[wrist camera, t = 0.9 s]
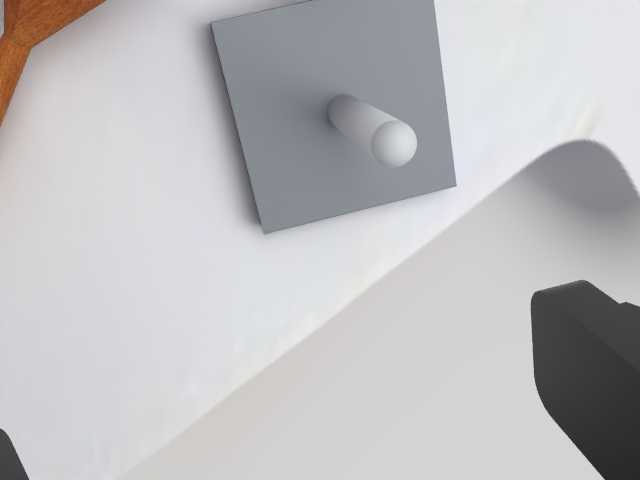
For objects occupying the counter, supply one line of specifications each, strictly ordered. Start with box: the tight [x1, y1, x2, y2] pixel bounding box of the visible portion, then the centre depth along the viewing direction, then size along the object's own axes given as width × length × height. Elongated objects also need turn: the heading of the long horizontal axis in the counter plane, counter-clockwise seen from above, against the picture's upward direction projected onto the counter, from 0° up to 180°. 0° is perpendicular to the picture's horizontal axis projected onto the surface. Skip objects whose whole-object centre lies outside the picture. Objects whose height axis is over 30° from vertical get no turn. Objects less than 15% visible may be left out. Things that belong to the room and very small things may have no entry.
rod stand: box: [211, 0, 457, 234], centre depth 25 cm, size 10×10×11 cm
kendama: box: [0, 0, 106, 126], centre depth 25 cm, size 6×6×20 cm
